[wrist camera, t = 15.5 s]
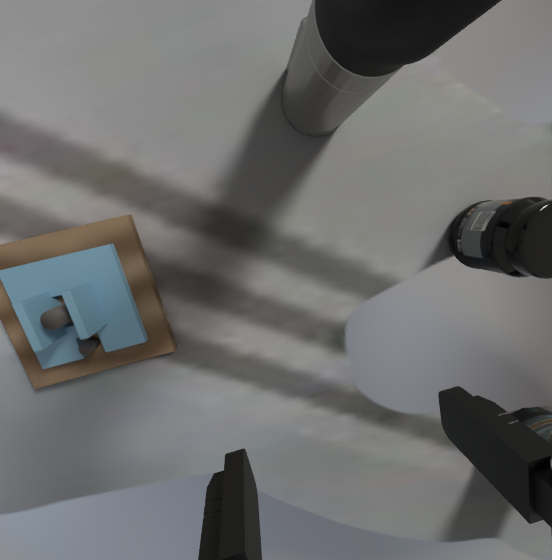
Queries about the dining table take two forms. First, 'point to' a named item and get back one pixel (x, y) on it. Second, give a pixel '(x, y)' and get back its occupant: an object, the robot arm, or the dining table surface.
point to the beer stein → (536, 421)
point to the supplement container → (506, 237)
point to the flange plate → (75, 303)
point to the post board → (135, 283)
